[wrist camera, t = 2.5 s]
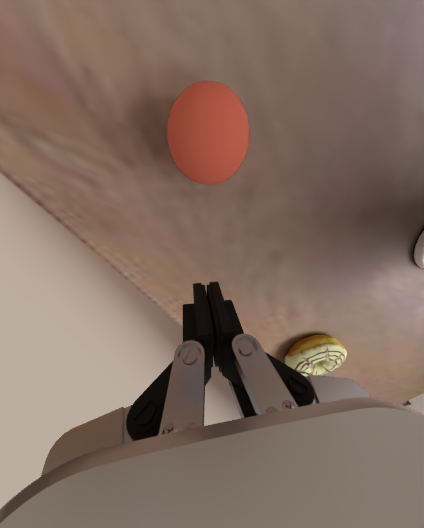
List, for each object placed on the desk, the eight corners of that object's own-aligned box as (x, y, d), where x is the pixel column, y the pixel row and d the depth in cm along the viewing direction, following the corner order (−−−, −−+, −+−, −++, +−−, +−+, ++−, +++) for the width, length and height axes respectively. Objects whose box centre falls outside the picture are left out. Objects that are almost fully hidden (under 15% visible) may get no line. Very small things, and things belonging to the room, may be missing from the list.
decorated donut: (270, 354, 32) (279, 375, 29) (317, 322, 29) (334, 341, 26) (299, 369, 36) (310, 389, 33) (343, 342, 33) (360, 361, 30)
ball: (240, 102, 13) (271, 63, 8) (234, 182, 16) (255, 188, 11) (167, 97, 12) (153, 52, 8) (174, 181, 15) (168, 187, 10)
